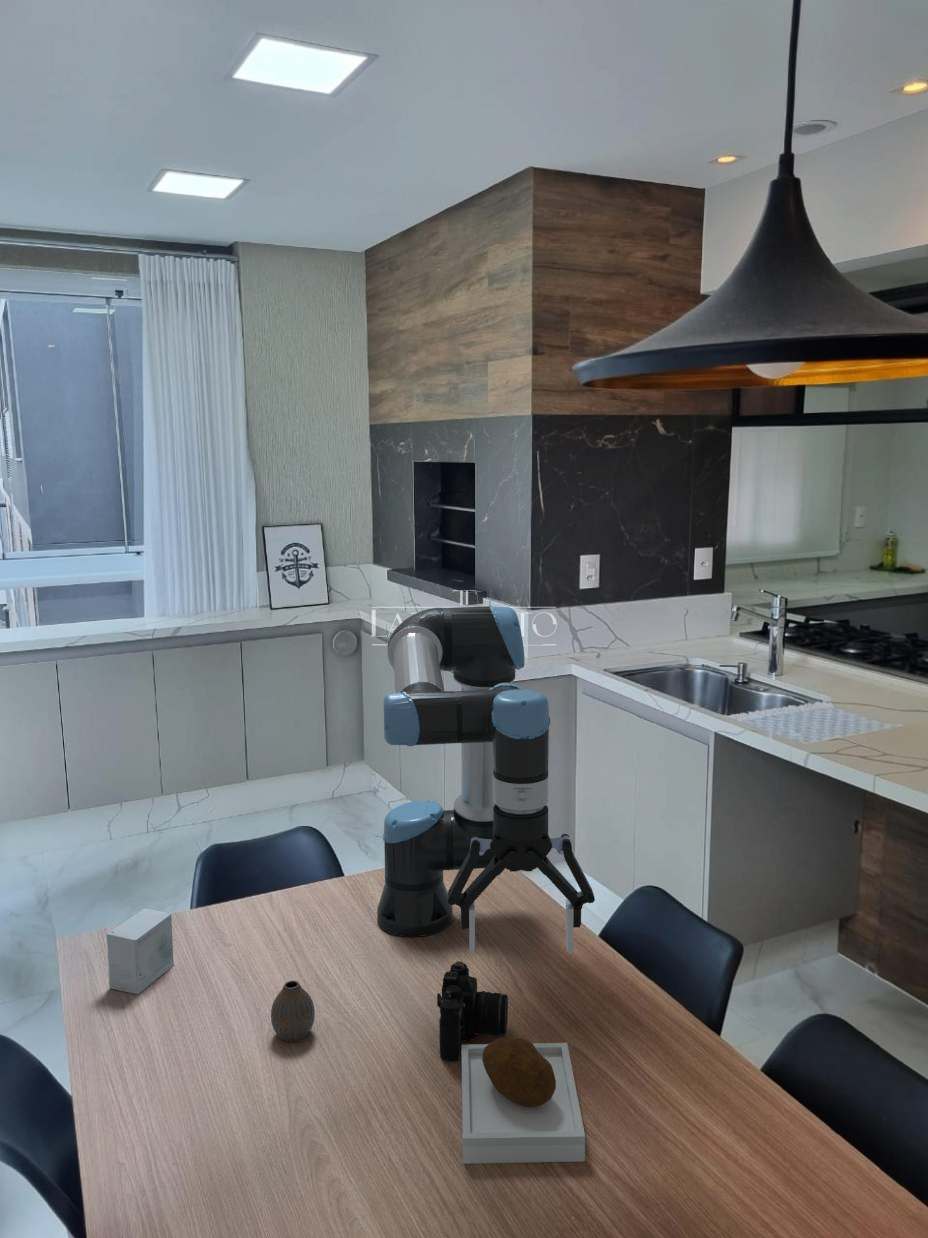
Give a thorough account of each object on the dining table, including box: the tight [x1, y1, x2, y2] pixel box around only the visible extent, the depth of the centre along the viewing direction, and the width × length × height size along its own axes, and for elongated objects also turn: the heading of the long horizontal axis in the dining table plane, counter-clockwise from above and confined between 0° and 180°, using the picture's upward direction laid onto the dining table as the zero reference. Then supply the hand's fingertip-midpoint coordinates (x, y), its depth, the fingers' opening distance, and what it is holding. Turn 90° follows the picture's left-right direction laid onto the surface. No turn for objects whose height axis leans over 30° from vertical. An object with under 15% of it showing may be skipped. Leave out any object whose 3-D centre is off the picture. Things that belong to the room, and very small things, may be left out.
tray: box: [461, 1042, 586, 1165], centre depth 134 cm, size 20×16×4 cm
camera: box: [436, 960, 509, 1063], centre depth 151 cm, size 14×11×10 cm
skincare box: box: [106, 908, 175, 995], centre depth 169 cm, size 10×6×10 cm, turn 161°
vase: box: [270, 980, 316, 1043], centre depth 152 cm, size 7×7×9 cm
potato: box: [482, 1036, 556, 1107], centre depth 133 cm, size 8×12×8 cm, turn 51°
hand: (520, 948), depth 133 cm, fingers open, 13 cm apart
